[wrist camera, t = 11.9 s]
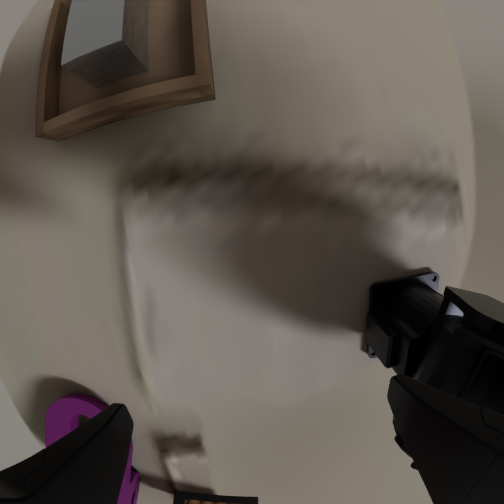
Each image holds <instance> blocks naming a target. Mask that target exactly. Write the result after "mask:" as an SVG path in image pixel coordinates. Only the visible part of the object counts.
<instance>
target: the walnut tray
mask: <svg viewBox="0 0 504 504" xmlns="http://www.w3.org/2000/svg"><path fill="white" fill-rule="evenodd" d="M71 2H72V0H55V1H54V4H53V8H52V12H51V15H50V19H49V24H48V28H47V32H46V37H45V42H44V47H43V53H42V59H41V66H40V74H39V82H38V93H37V107H36V137H40V138H45V139H50V140H55V141H60V140H63V139H65V138H68V137H71V136H73V135H76V134H79V133H82V132H84V131H87V130H90V129H93V128H96V127H99V126H102V125H106V124H109V123H112V122H116V121H119V120H122V119H126V118H130V117H133V116H137V115H141V114H145V113H149V112H153V111H158V110H162V109H167V108H171V107H176V106H181V105H186V104H192V103H198V102H204V101H210V100H216V99H215V90H214V81H213V71H212V62H211V52H210V42H209V31H208V21H207V10H206V0H149V1H148V64H149V72H146V73H143V74H139V75H136V76H132V77H129V78H126V79H123V80H120V81H117V82H114V83H111V84H108V85H105V86H102V87H100V88H96V87H95V86H93V85H92V84H90V83H89V82H87V81H85V80H84V79H82V78H81V77H79V76H77V75H76V74H74V73H73V72H71V71H69V70H68V69H66V68H64V67H63V66H61V61H62V52H63V44H64V38H65V32H66V26H67V20H68V15H69V11H70V6H71Z"/></svg>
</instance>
